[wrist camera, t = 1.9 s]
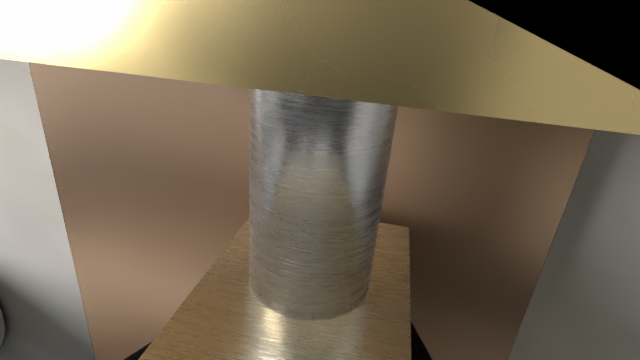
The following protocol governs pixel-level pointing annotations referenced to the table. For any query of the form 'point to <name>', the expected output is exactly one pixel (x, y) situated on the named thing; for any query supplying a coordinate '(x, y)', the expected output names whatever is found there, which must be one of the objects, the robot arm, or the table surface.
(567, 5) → the copper board
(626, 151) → the table surface
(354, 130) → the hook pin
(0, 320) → the travel mug
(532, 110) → the gold slab
